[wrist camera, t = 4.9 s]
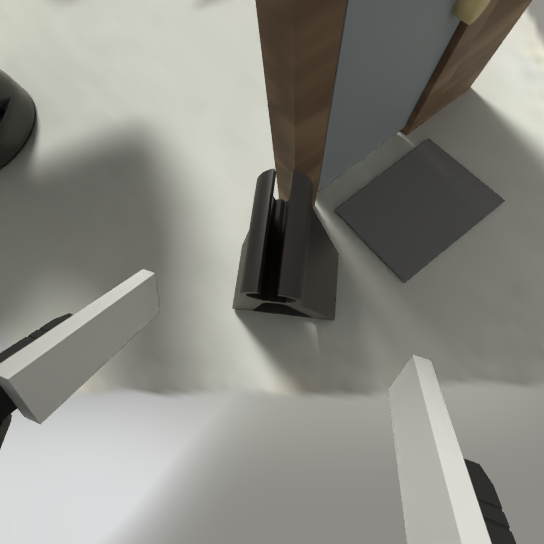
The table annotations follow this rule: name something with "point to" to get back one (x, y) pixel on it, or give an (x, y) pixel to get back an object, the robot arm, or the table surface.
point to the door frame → (322, 63)
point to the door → (384, 72)
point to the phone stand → (287, 255)
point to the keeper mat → (418, 208)
